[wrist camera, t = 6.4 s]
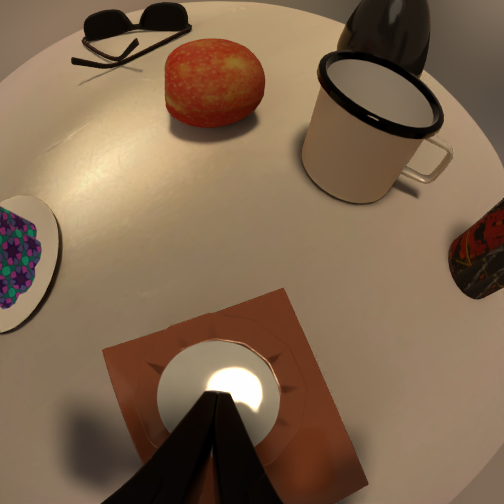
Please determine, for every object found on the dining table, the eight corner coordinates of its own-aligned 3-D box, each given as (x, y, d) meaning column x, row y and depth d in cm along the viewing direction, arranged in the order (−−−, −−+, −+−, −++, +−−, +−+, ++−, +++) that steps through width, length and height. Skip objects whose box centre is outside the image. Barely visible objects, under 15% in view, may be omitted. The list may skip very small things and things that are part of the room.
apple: (171, 94, 28) (163, 27, 21) (253, 90, 29) (260, 23, 22) (165, 149, 25) (151, 73, 17) (264, 144, 26) (276, 67, 18)
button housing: (342, 468, 16) (384, 492, 10) (196, 522, 13) (186, 567, 8) (272, 307, 20) (290, 275, 14) (125, 357, 18) (87, 344, 12)
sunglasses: (47, 93, 28) (34, 62, 24) (88, 39, 34) (82, 13, 29) (174, 77, 29) (171, 39, 25) (193, 27, 35) (192, -2, 31)
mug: (279, 183, 24) (302, 91, 16) (309, 115, 28) (331, 37, 20) (415, 240, 23) (480, 175, 15) (420, 162, 27) (464, 98, 19)
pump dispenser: (380, 64, 35) (413, -24, 21) (421, 112, 31) (473, 15, 17) (316, 59, 33) (341, -45, 19) (353, 109, 29) (399, -15, 15)
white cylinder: (285, 423, 12) (298, 430, 10) (191, 456, 11) (183, 471, 9) (247, 334, 14) (252, 323, 11) (155, 366, 13) (140, 361, 10)
